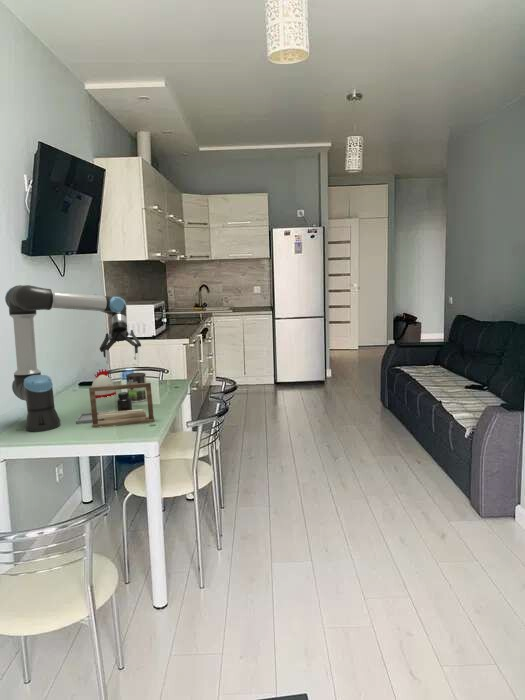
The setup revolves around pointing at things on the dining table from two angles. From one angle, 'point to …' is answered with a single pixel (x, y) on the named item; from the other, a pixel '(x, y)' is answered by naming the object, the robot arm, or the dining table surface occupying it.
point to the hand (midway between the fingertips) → (121, 360)
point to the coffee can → (137, 393)
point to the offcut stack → (121, 416)
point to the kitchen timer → (103, 384)
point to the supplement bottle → (124, 402)
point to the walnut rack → (116, 387)
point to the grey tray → (86, 418)
